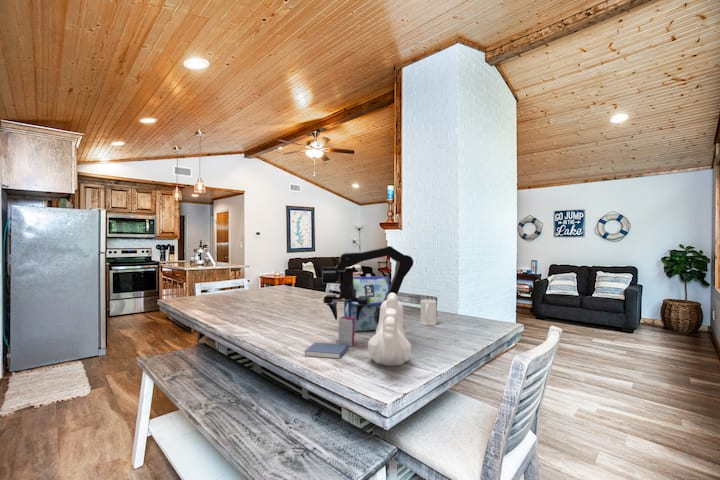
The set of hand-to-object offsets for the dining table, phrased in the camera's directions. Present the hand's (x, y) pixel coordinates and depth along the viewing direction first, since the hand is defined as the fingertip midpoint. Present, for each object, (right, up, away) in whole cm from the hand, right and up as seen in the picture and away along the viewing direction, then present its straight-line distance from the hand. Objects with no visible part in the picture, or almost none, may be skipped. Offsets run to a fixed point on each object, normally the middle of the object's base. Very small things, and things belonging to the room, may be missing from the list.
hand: (346, 320), depth 145 cm
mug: (+41, -11, +37) cm, 56 cm away
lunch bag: (+9, -11, +28) cm, 31 cm away
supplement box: (0, -11, 0) cm, 11 cm away
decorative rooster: (+15, -11, -23) cm, 30 cm away
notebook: (-7, -11, -10) cm, 16 cm away
